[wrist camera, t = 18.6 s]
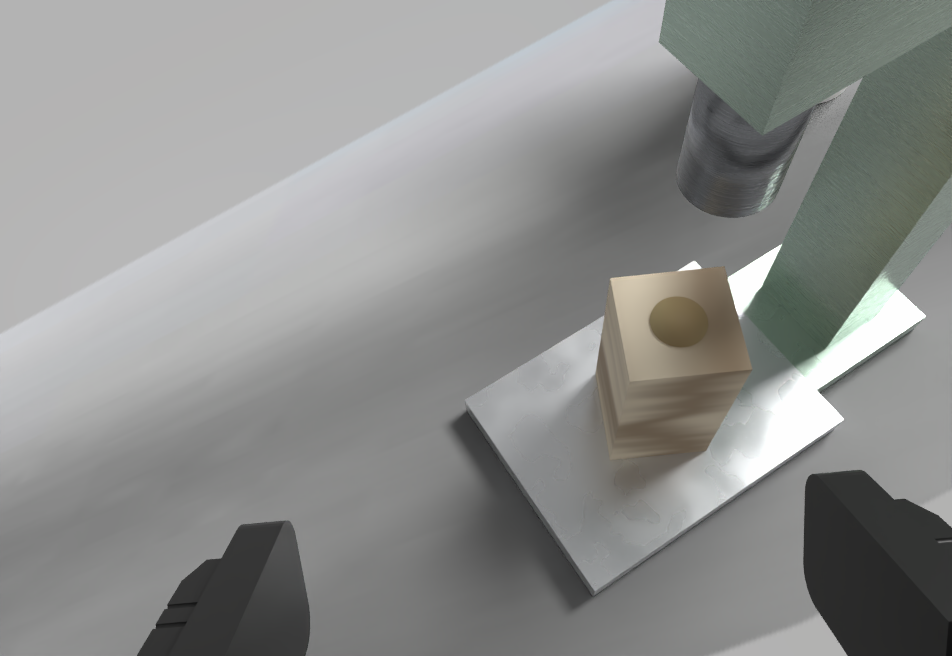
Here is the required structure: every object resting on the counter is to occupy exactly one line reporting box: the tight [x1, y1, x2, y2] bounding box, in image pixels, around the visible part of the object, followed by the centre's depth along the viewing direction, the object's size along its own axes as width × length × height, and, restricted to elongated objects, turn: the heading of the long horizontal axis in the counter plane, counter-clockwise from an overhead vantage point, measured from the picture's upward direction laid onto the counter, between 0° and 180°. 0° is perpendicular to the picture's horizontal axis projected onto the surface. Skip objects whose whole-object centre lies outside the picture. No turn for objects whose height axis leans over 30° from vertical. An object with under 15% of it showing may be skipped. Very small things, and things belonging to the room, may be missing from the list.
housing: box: [595, 266, 752, 460], centre depth 37 cm, size 5×5×10 cm
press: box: [465, 0, 952, 596], centre depth 32 cm, size 33×12×30 cm, turn 122°
